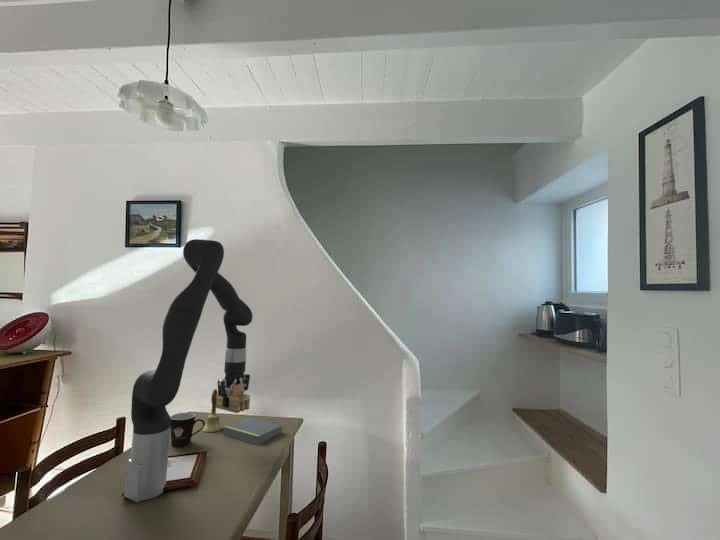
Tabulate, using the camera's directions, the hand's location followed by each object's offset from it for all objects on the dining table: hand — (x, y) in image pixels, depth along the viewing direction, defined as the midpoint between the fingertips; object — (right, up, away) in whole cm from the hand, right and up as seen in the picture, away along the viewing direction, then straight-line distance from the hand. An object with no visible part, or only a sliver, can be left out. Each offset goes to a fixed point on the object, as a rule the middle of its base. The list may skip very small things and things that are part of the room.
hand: (232, 404), depth 133 cm
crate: (0, +4, 0) cm, 4 cm away
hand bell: (-14, -16, +14) cm, 25 cm away
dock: (+4, -16, +10) cm, 20 cm away
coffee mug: (-18, -14, -2) cm, 23 cm away
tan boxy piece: (0, -1, 0) cm, 1 cm away
